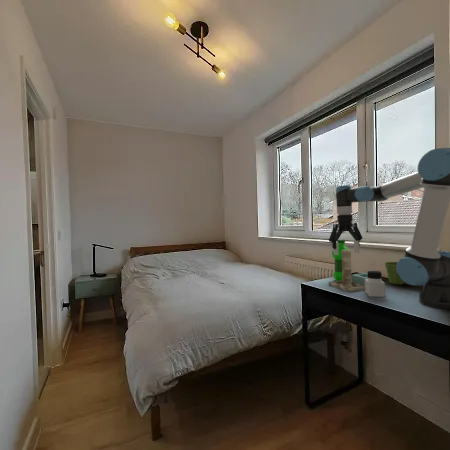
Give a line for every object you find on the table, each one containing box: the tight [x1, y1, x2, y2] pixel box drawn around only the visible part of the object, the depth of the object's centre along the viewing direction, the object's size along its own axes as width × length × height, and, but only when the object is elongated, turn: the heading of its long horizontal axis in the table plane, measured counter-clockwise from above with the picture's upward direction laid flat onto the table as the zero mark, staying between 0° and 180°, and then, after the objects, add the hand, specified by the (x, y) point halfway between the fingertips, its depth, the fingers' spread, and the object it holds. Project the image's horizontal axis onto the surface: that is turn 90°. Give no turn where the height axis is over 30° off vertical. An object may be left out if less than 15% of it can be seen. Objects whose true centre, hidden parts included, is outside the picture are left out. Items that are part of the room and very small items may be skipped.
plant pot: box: [383, 261, 406, 285], centre depth 152 cm, size 12×12×11 cm
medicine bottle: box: [364, 269, 386, 298], centre depth 134 cm, size 7×7×12 cm
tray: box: [328, 280, 365, 293], centre depth 148 cm, size 16×11×2 cm
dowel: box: [342, 249, 352, 288], centre depth 148 cm, size 4×4×20 cm
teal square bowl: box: [351, 272, 368, 285], centre depth 150 cm, size 10×10×6 cm
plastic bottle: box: [331, 238, 350, 281], centre depth 161 cm, size 10×10×25 cm
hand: (346, 253), depth 147 cm, fingers open, 13 cm apart
